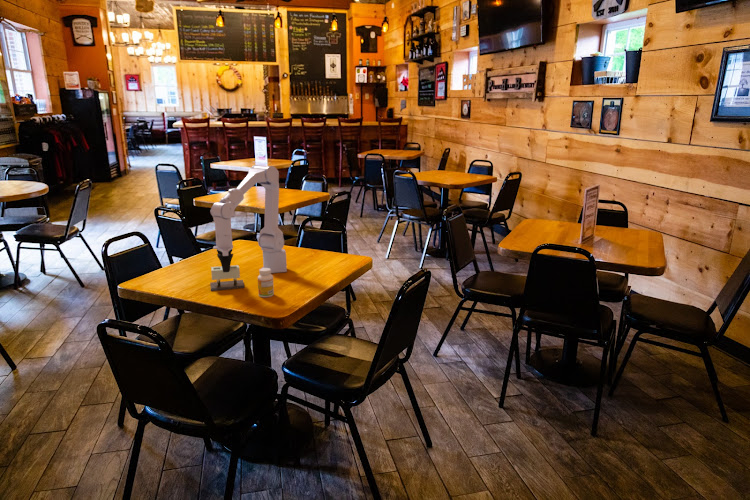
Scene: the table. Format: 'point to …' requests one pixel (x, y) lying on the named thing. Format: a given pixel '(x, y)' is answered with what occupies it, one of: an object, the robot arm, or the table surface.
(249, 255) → the table surface
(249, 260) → the table surface
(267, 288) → the supplement bottle
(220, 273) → the hollow breeze brick
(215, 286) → the base
